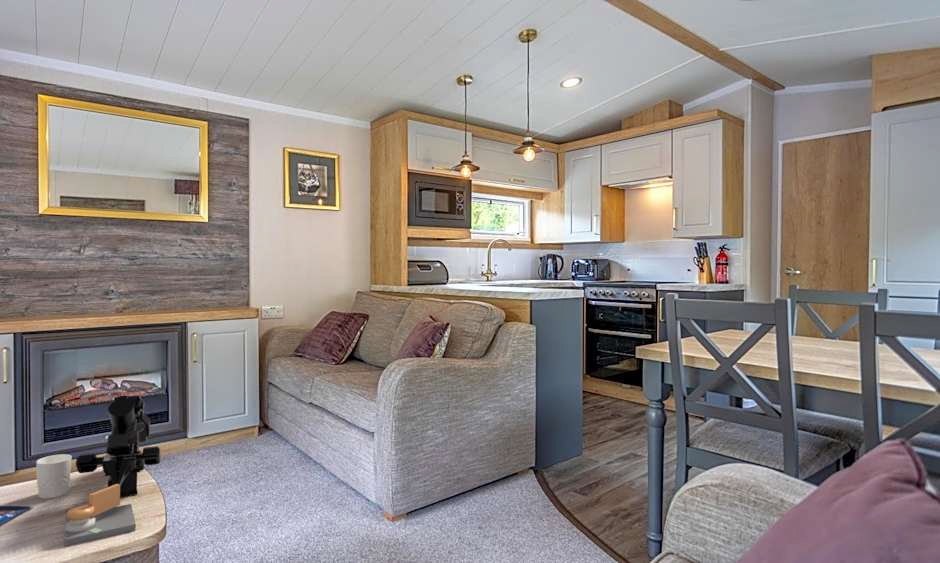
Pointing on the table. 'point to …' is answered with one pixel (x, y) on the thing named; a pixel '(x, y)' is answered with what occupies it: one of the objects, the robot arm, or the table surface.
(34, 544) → the table surface
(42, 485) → the white cup
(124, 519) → the base
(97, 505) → the lever cap
